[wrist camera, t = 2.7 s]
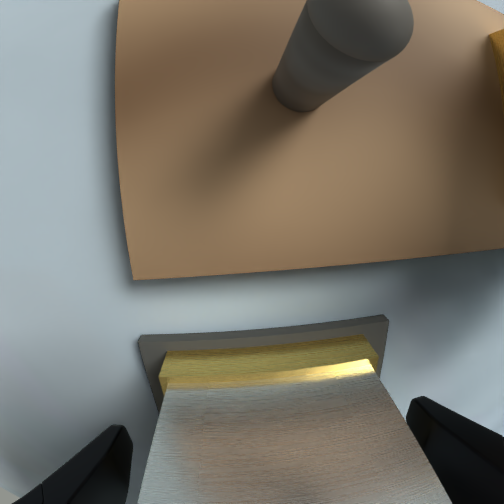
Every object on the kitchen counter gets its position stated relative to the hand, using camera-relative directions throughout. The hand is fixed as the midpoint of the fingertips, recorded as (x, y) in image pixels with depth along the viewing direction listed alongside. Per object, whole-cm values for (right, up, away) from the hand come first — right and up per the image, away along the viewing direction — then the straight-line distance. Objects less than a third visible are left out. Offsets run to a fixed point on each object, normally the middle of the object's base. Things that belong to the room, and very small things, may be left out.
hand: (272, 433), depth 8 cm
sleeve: (0, 0, +1) cm, 1 cm away
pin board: (+4, +9, -1) cm, 10 cm away
